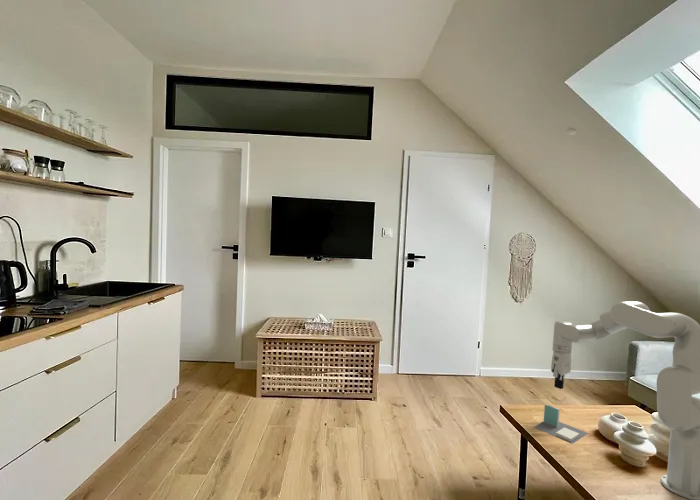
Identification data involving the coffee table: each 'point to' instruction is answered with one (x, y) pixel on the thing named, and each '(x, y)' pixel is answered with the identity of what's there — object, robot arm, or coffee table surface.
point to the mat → (552, 429)
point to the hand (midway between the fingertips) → (558, 387)
